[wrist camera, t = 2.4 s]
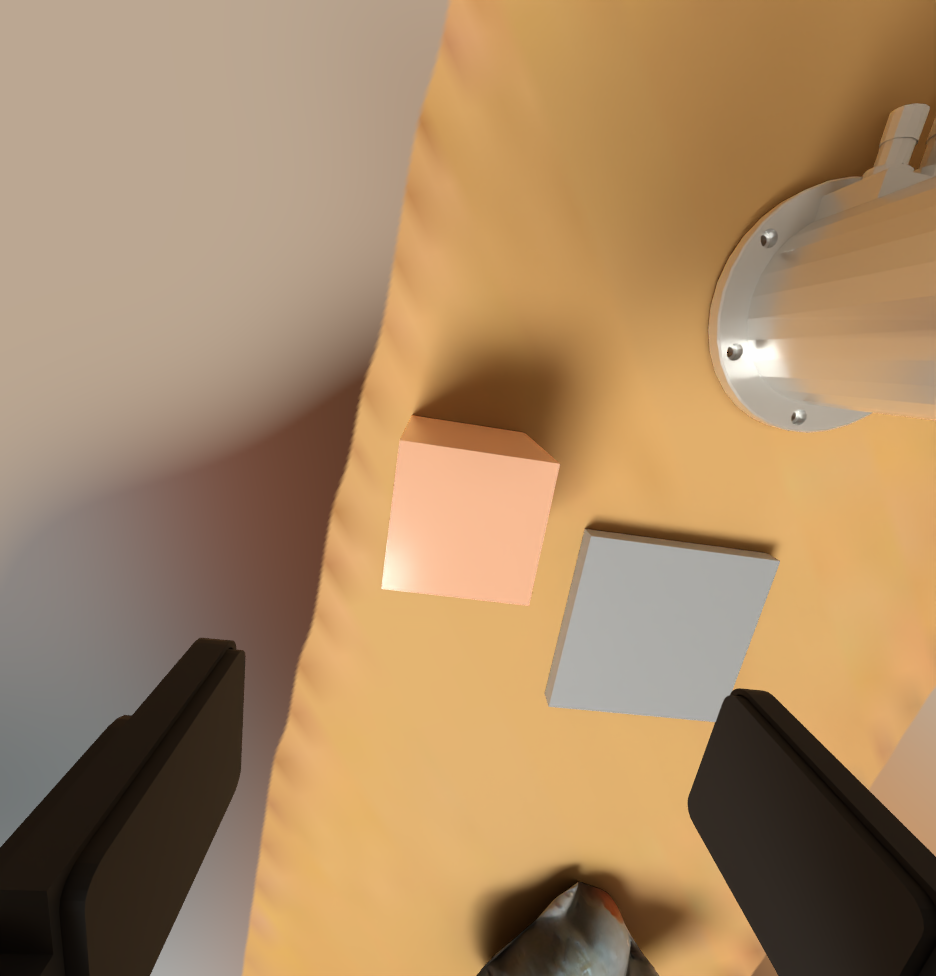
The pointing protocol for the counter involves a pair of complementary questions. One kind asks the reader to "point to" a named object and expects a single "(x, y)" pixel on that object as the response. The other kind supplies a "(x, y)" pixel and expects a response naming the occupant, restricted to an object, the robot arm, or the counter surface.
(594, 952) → the lucky cat figurine
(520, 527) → the peach rectangular block
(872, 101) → the counter surface
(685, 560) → the slate board
